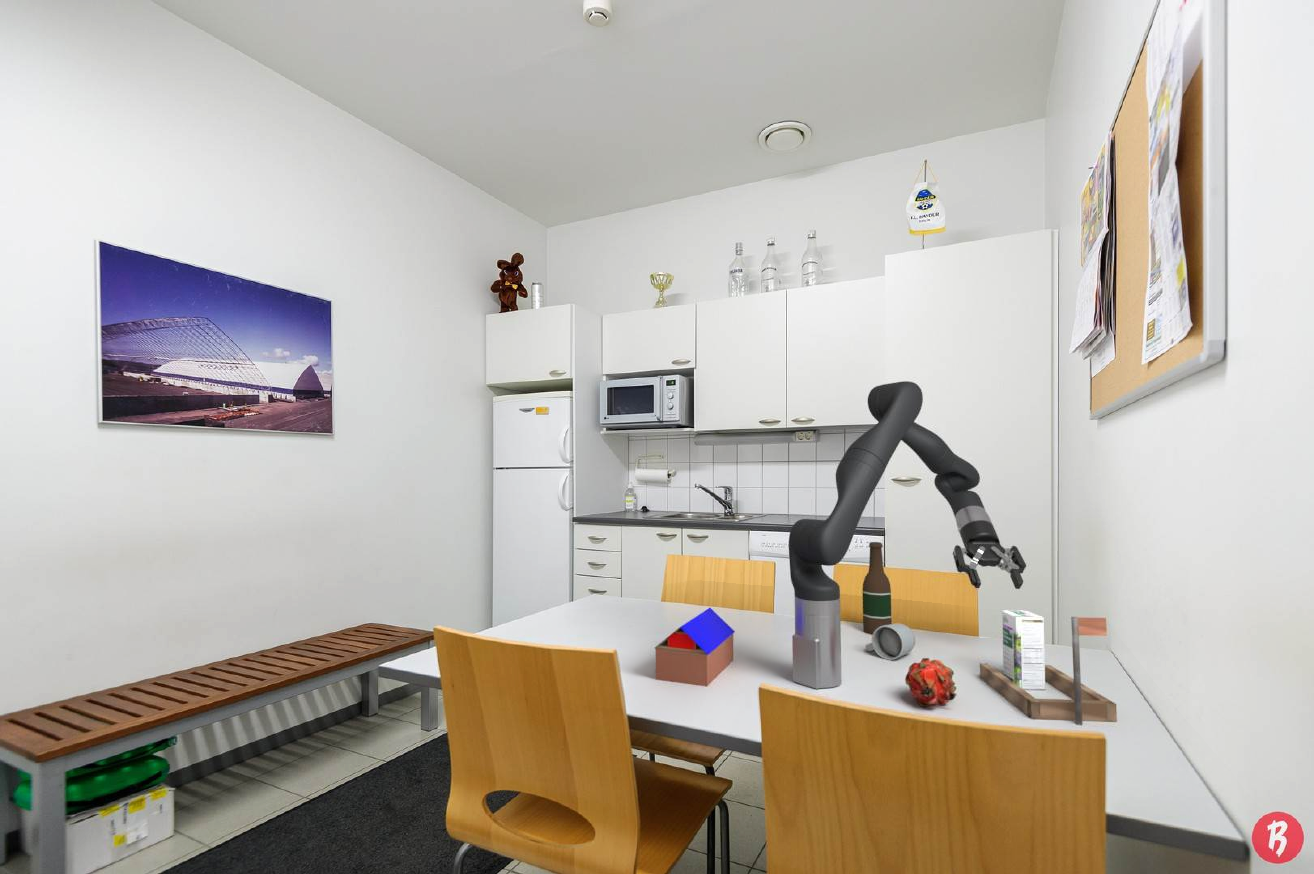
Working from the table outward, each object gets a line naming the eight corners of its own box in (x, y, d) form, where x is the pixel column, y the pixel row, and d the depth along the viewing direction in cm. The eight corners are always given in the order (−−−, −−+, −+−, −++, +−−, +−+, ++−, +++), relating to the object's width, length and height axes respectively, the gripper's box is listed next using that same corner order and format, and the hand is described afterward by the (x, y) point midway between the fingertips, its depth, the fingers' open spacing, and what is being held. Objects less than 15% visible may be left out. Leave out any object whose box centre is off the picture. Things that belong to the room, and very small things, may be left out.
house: (653, 680, 132) (653, 624, 132) (686, 654, 150) (686, 605, 151) (708, 688, 127) (707, 629, 128) (735, 660, 145) (734, 609, 146)
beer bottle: (897, 631, 170) (895, 542, 171) (885, 637, 164) (883, 544, 166) (870, 627, 175) (868, 540, 176) (857, 632, 170) (855, 542, 171)
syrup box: (1002, 680, 130) (999, 609, 131) (1031, 680, 130) (1028, 609, 131) (1017, 690, 125) (1014, 615, 126) (1047, 690, 125) (1044, 615, 125)
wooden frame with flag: (980, 677, 132) (977, 591, 133) (1050, 679, 131) (1047, 592, 132) (1037, 723, 108) (1033, 617, 109) (1124, 726, 107) (1119, 618, 108)
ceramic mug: (918, 655, 148) (916, 622, 149) (903, 663, 142) (902, 628, 143) (875, 647, 156) (873, 616, 156) (859, 654, 150) (858, 621, 150)
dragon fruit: (939, 700, 124) (932, 731, 113) (901, 670, 127) (890, 697, 116) (966, 670, 121) (961, 699, 110) (926, 640, 124) (918, 666, 113)
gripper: (948, 518, 149) (969, 575, 137) (1012, 519, 148) (1038, 576, 136) (941, 539, 154) (960, 595, 142) (1002, 539, 153) (1027, 596, 141)
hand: (998, 586), depth 139 cm, fingers open, 8 cm apart
